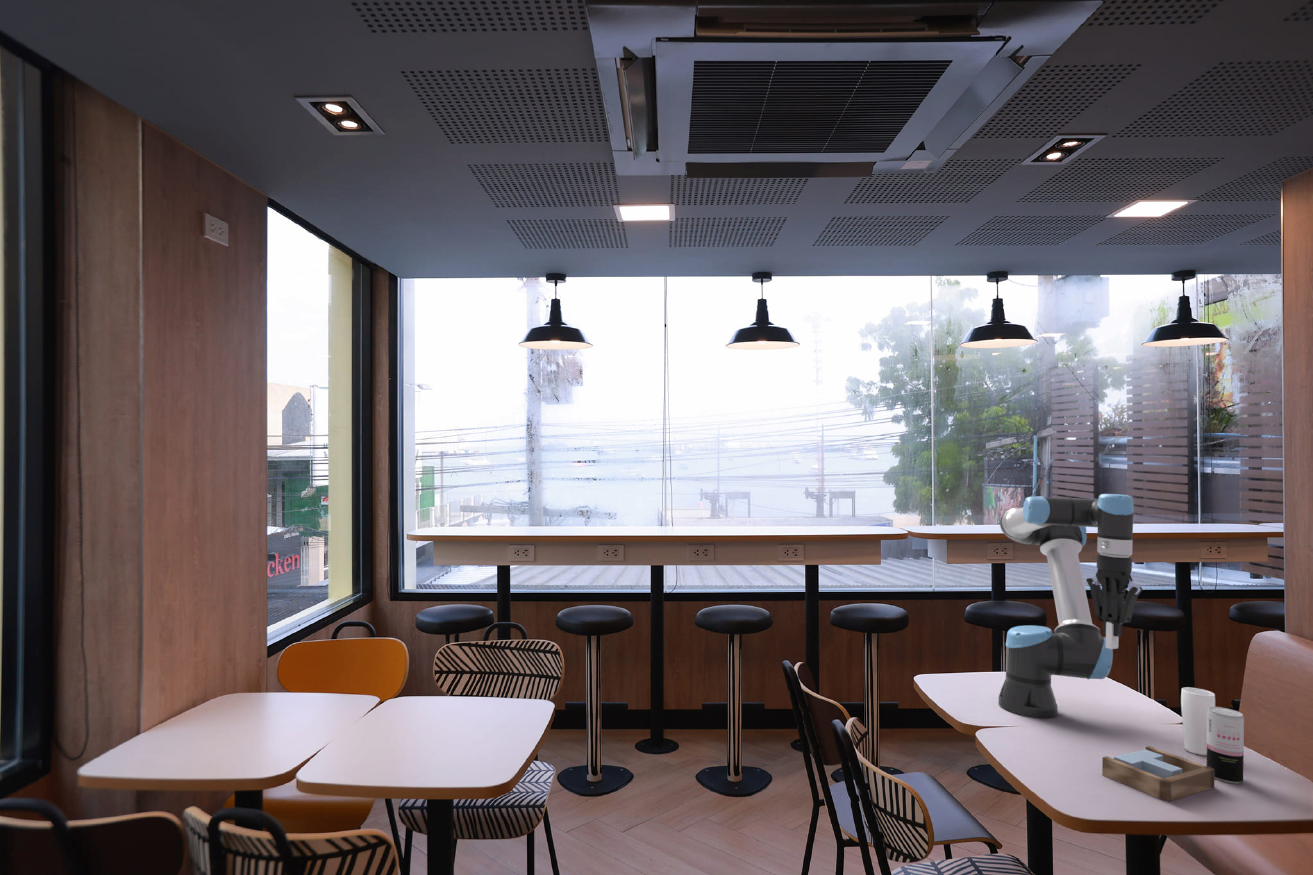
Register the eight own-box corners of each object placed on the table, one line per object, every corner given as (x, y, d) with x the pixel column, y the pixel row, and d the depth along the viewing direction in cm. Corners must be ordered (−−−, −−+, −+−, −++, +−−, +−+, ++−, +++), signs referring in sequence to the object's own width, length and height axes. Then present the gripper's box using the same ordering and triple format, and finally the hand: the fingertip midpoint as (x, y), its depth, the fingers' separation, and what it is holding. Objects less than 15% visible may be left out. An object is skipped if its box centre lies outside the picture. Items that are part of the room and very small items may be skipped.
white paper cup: (1220, 759, 171) (1221, 697, 172) (1189, 755, 172) (1190, 694, 173) (1205, 748, 178) (1205, 688, 178) (1174, 745, 179) (1175, 685, 180)
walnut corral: (1102, 774, 159) (1102, 757, 159) (1149, 762, 167) (1149, 745, 167) (1167, 801, 147) (1167, 782, 147) (1214, 787, 155) (1214, 769, 155)
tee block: (1113, 774, 160) (1113, 756, 160) (1144, 766, 165) (1144, 749, 165) (1161, 793, 151) (1161, 774, 151) (1192, 784, 156) (1192, 765, 156)
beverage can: (1205, 768, 165) (1206, 704, 166) (1241, 776, 161) (1242, 710, 162) (1207, 778, 160) (1208, 711, 160) (1244, 786, 156) (1245, 718, 156)
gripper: (1079, 551, 183) (1077, 642, 182) (1131, 559, 171) (1128, 656, 170) (1098, 550, 186) (1096, 639, 185) (1150, 558, 174) (1148, 653, 174)
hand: (1111, 647), depth 178 cm, fingers closed
